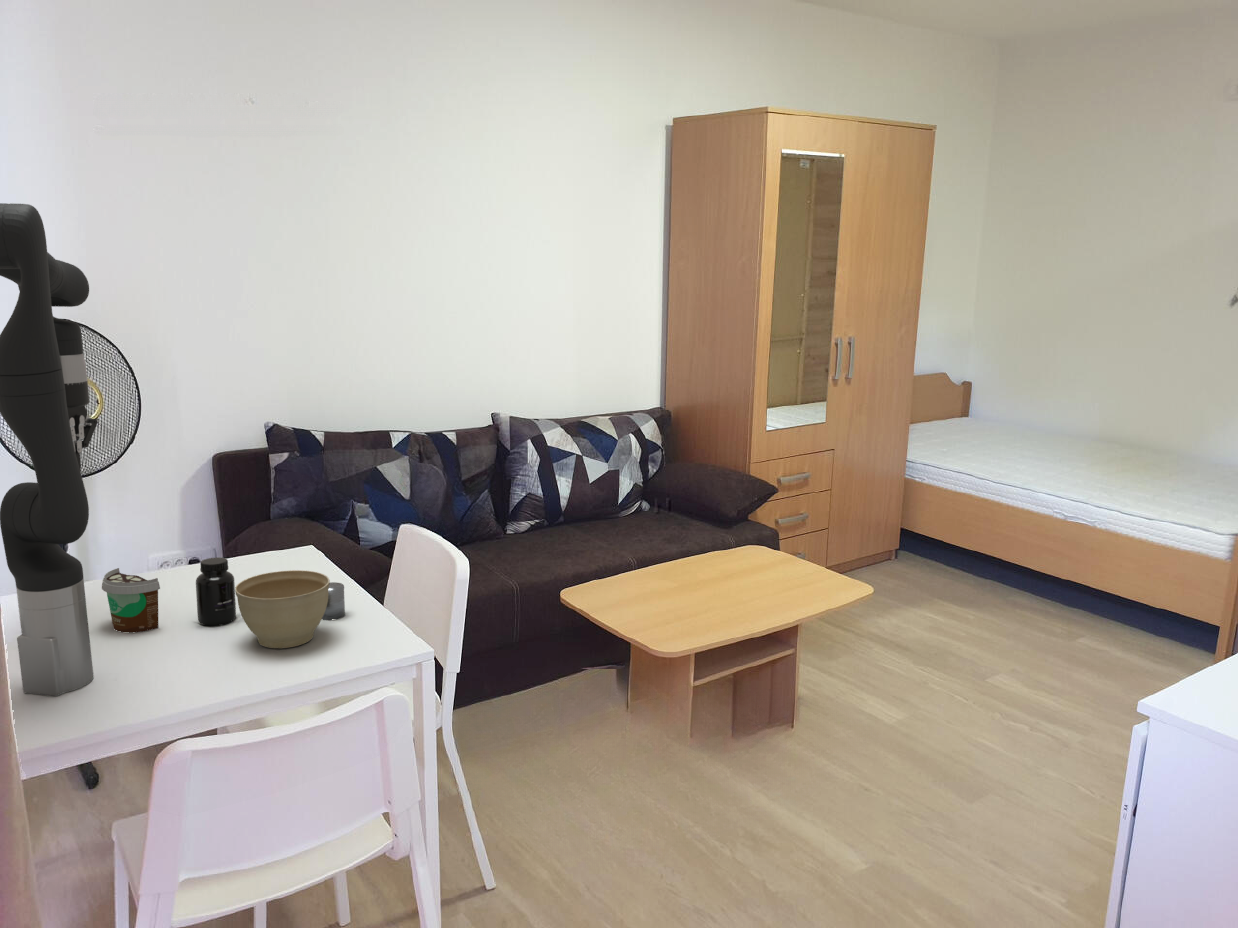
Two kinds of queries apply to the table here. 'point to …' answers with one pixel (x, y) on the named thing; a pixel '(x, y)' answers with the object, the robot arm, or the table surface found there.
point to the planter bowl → (283, 606)
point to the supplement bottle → (215, 593)
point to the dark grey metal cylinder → (335, 602)
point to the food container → (131, 601)
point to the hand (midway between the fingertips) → (72, 473)
